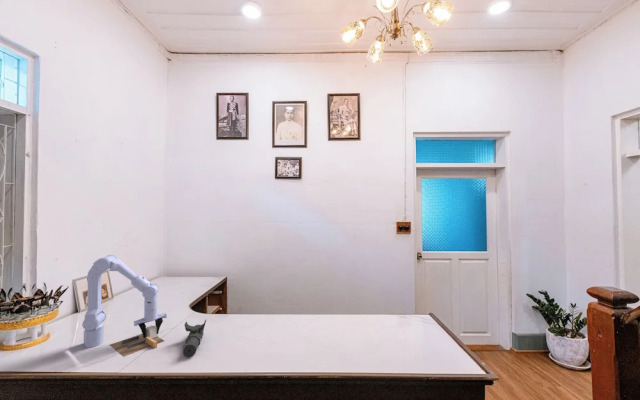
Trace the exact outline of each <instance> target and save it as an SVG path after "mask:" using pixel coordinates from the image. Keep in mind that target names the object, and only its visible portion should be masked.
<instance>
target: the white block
mask: <svg viewBox="0 0 640 400" xmlns="http://www.w3.org/2000/svg"><path fill="white" fill-rule="evenodd" d="M156 336H158V334H157V326H156V325H149V326H146V337H150V338H154V337H156ZM145 339H146V338H145Z"/></svg>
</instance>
